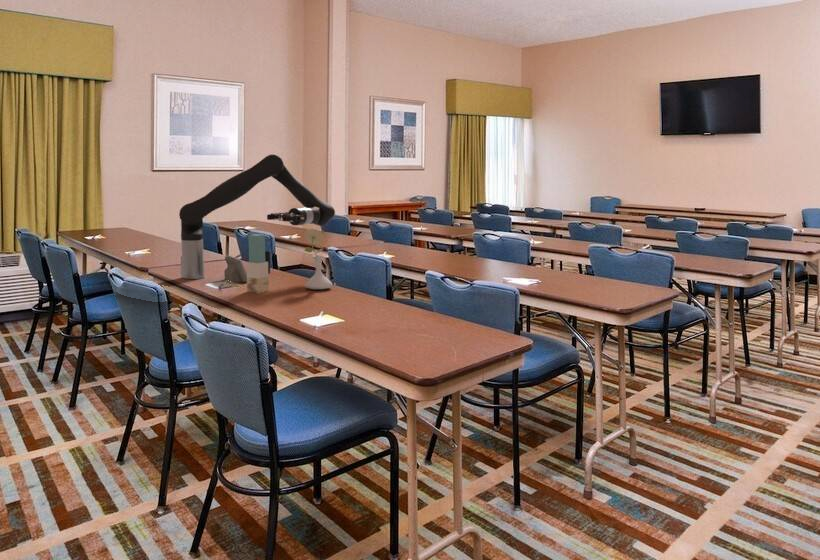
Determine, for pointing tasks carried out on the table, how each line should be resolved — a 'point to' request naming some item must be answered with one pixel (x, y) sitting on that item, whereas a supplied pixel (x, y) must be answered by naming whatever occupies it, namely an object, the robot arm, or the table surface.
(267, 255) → the pen holder
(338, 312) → the table surface
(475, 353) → the table surface
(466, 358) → the table surface
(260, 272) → the cream cube
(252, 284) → the maple cube
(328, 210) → the robot arm
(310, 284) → the flower in vase
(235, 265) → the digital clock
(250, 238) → the teal post
